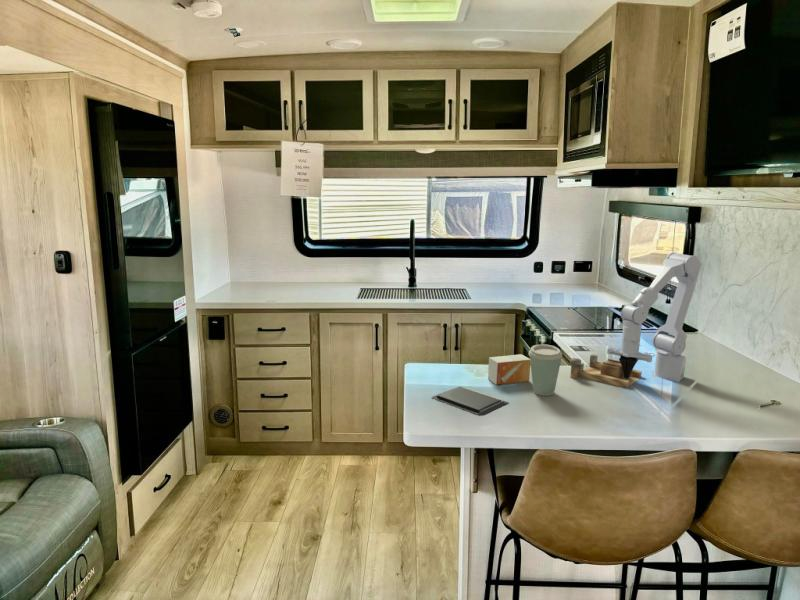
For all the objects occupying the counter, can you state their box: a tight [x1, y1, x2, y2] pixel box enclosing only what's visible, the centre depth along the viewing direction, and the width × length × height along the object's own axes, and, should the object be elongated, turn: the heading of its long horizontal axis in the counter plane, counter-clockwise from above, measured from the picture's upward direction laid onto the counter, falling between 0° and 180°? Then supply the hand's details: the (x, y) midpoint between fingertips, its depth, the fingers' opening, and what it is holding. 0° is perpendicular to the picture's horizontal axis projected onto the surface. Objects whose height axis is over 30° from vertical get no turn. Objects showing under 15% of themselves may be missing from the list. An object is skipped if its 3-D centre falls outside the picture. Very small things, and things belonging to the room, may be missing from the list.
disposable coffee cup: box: [528, 343, 563, 397], centre depth 186 cm, size 11×11×15 cm
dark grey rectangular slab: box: [431, 386, 510, 417], centre depth 179 cm, size 20×2×15 cm
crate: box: [601, 358, 624, 379], centre depth 201 cm, size 6×8×5 cm
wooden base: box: [569, 354, 642, 389], centre depth 201 cm, size 19×19×7 cm
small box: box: [487, 353, 531, 386], centre depth 197 cm, size 8×6×13 cm
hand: (626, 377), depth 198 cm, fingers closed
